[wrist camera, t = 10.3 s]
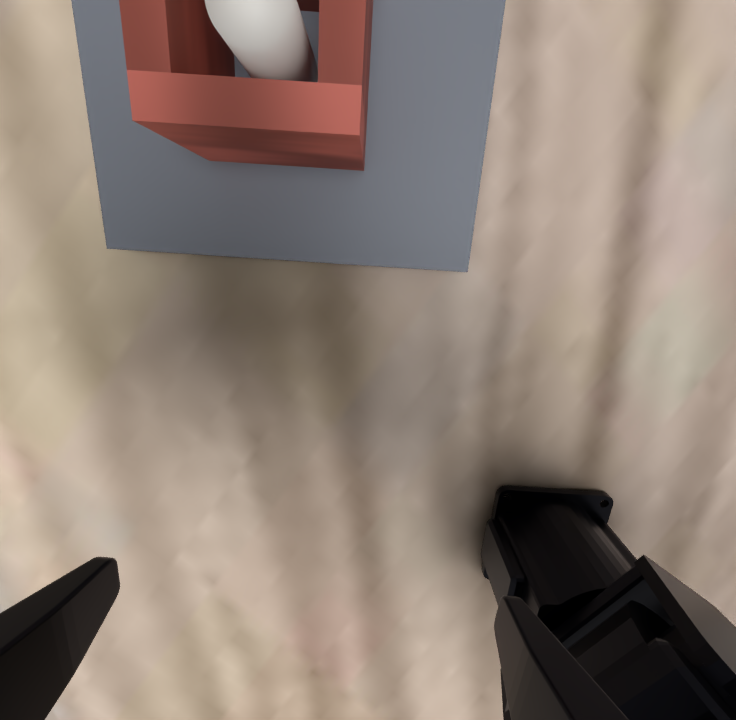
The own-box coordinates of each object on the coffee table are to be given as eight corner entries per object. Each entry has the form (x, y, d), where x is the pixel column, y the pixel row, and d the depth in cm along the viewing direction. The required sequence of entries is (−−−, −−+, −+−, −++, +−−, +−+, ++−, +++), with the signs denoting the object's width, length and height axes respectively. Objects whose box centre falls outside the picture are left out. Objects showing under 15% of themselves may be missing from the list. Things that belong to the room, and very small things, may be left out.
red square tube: (374, -26, 13) (374, -181, 8) (364, 170, 15) (359, 135, 10) (197, -38, 13) (96, -200, 8) (209, 160, 15) (132, 120, 10)
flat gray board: (511, -119, 13) (613, -391, 8) (460, 270, 18) (501, 281, 12) (78, -149, 13) (-142, -443, 8) (128, 248, 18) (9, 248, 12)
